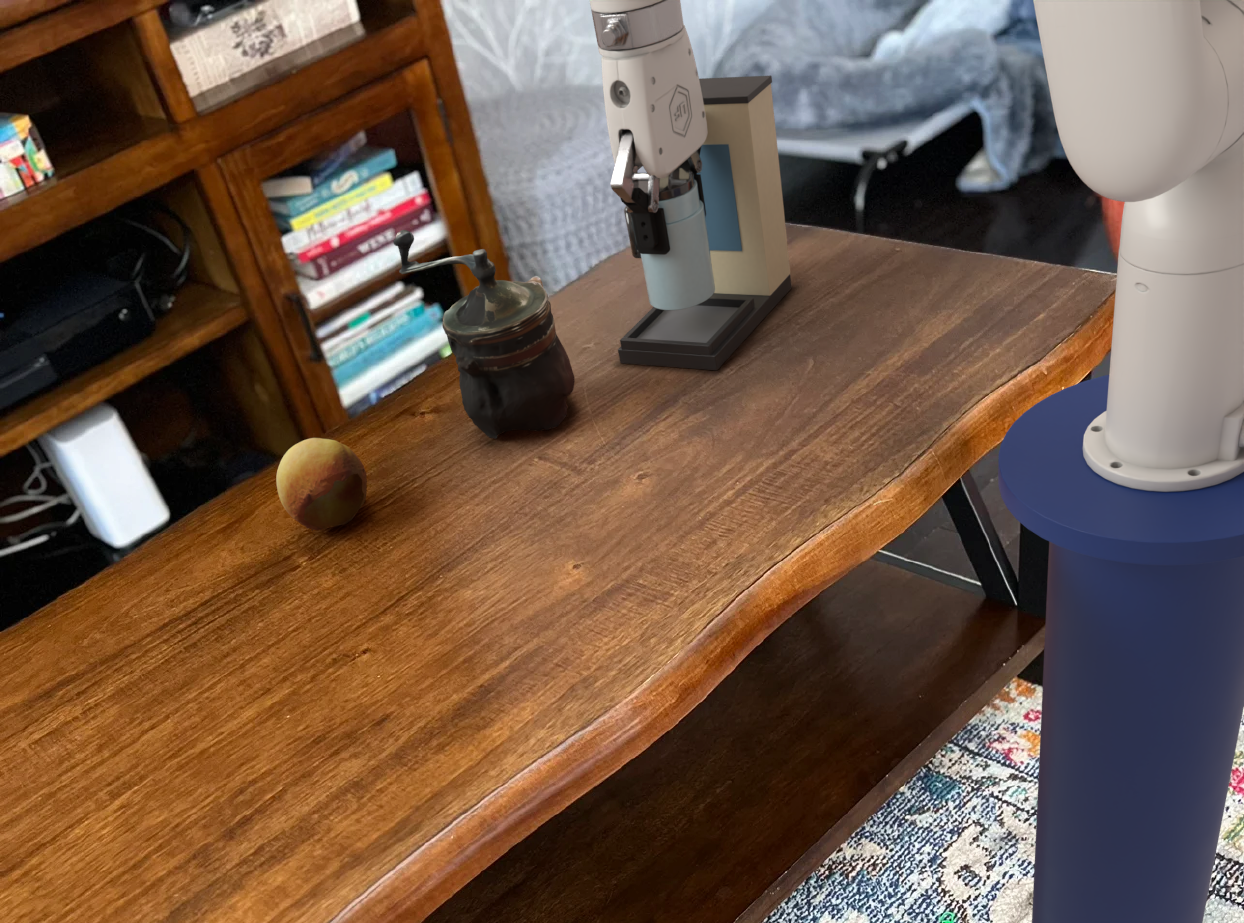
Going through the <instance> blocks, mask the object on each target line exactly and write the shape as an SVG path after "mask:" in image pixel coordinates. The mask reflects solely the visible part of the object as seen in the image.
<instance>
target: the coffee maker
mask: <svg viewBox="0 0 1244 923" xmlns="http://www.w3.org/2000/svg"><path fill="white" fill-rule="evenodd" d="M772 76H773V75H751V76H749V75H748V76H727V77H709V78H708V77H705V78H702V77H701V78H699V81H700V86H701V92H702V97H703V103H704V109H705V115H706V121H707V131H708V134H707V138H706V140H705V142H704V143H703V145H702V146H701V151H700V159H701V161H702V170H701V172H700V173H697V174H701V181H702V188H703V195H704V202H705V209H706V217H705V218H706V225H707V232H708V239H709V246H710V253H711V260H712V267H713V274H714V281H715V292H714V294H713V295H712V296H711V297H710V298H709V299H707V300H706V301H704V302H702V303H700V304H698V305H695V306H692V307H689V308H685V309H679V310H661V309H657V308H655V307H653V306H652V308H651V309H650V310H649V311H648V312H647V313H645V314H644V316H643V317H642V318H640V320H639V321H637V322H636V323H635V324H634V326H633V327H631V328H630V329H629V330H628V332H626V333H625V334H624V335H623V336H622V337H621V338H620V339H619V343H620V346H619V347H618V348H617V353H618V358H619V362H620V364H627V365H639V366H655V367H665V368H666V367H667V368H677V369H678V368H679V369H691V370H706V371H718V370H719V369H720V368H721V367H722V366H723V365H724V364H725V362H726V361H727V360H729V359H730V357H731V356H732V355H733V353H734V352H735V351H736V350H737V349H738V348H739V347H740V346H741V345H742V344H743V343H744V341H745V340H746V339H747V338H748V337H749V336H750V335H751V334H752V333H753V332H754V330H755V329H756V328H757V327H758V326H759V325H760V323H762V321H763V320H765V318H766V317H767V316H768V315H769V313H771V311H773V309H775V307H776V306H777V305H778V303H780V301H782V299H783V298H785V296H786V295H787V294H788V293H789V291H790V290H791V289H792V287H793V286H792V276H791V266H790V254H789V246H788V236H787V226H786V217H785V207H784V198H783V187H782V178H781V167H780V159H779V158H780V157H779V149H778V138H777V130H776V120H775V111H774V110H775V108H774V100H773V90H772V83H773V77H772Z"/></svg>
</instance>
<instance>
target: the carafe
mask: <svg viewBox="0 0 1244 923" xmlns="http://www.w3.org/2000/svg"><path fill="white" fill-rule="evenodd" d="M638 188H641V189H642V190H643V191H644V192H645V193H646V194H647V195H648V181H639V185H638ZM658 208H664V214H665V221H666V227H667V233H668V239H669V245H670V251H669V252H668V253H667V254H665V255H660V254H641V253H639V251H638V248H637V242H636V237H635V231H634V226H633V220H632V215H631V213H629V212H628V211H627V208H626V206H625V207H624V208H623V214H624V218H625V223H626V230H627V234H628V239H629V245H630V250H631V255H632V257H633V258H634V259H641V265H642V270H643V275H644V281H645V286H646V293H647V297H648V303H649V305H651V307H652V308H653V307H655V308H657V309H661V310H679V309H685V308H689V307H692V306H695V305H698V304H700V303H702V302H704V301H706V300H707V299H709V298H710V297H711V296H712V295H713V294H714V292H715V281H714V274H713V267H712V260H711V253H710V246H709V239H708V232H707V225H706V218H705V212H704V205H703V203H702V201H701V200H699V193H698V186H697V182H696V180H695V179H694V174H693V172H692V171H690V170H688V169H684V168H677V169H676V170H674V171H673V172H672V173H671V174H670V175H668V176H667V177H665V178H660V185H659V207H658Z"/></svg>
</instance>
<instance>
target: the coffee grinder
mask: <svg viewBox="0 0 1244 923" xmlns="http://www.w3.org/2000/svg"><path fill="white" fill-rule="evenodd" d="M414 241H415V235H414V234H413V233H412V232H411V231H409V230H407V229H402V230H401V229H400V231H399V232H397V233H396V235H395V238H394V240H393V242H392V243H393V245H394V246H395V247H397V249H398V252H399V255H400V262H401V267H400V269H399V271H398V272H399V273H400V274H401V275H406V274H407V275H408V274H409V273H414V272H421V271H426V270H429V269H433V268H436V267H440V266H446V265H465V266H467V267H468V269H469V270H470V271H471V273H472V275H473V276H474V277H475V278H476V279H477V281H478V283H479V285H478V286H475V287H474V288H473V289H472V290H470V291H469V292H468V294H467V295H465V296H464V297H462V298H460V299H459V300H457V301H456V302H455V303H454V304H452V305H451V307H450V308H448V310H446V311H444V313H443V316H442V324H441V325H442V330H443V331H444V334H445V335H446V337H447V342H448V345H449V348H450V351H451V352H452V354H453V355H454V357H455V363H456V365H457V372H459V380H458V381H459V382H458V383H459V389H460V390H459V391H460V395H461V402H462V405H463V410H464V411H465V413H466V414H467V416H468V418H469V419H471V422H472V424H473V425H475V426H476V427H477V428H478V429H479V430H480V431H481V432H483V434H484V435H485V436H486V437H488V438H489V439H498V436H499V435H502V434H503V433H505V432H511V431H516V430H517V431H533V432H542V431H545V430H546V431H547V430H548V431H549V430H550V429H551V430H552V429H555V428H558V427H559V426H560V424H561V423H562V422H563V421H564V420H565V418H566V417H567V416H568V408H569V406H568V405H567V399H568V397H569V396H570V395H571V394H572V393H573V391H574V389H575V382H576V381H575V374H574V371H573V368H572V365H571V361H570V357H569V355H568V353H567V351H566V349H565V346H564V345H563V344H562V342H561V340H560V338H559V336H558V334H557V331H556V325H555V324H556V323H555V319H554V315H553V313H552V304H551V301H550V300H549V295H548V293H547V290H546V289H545V288H544V285H543V281H542V279H541V278H540V276H537V275H534V276H532V277H531V278H530V279H529V280H527V281H525V282H524V281H519V280H515V281H510V280H505V279H501V280H500V279H499V280H497V279H495V276H496V271H497V270H496V269H497V268H496V266H495V263H494V262H492V261H490V259H489V258H488V252H487V250H486V249H484V248H482V249H481V248H480V249H477V250H474V251H473V252H472V254H464V255H461V256H452V257H451V256H450V257H445V258H441V259H437V260H434V261H429V262H427V261H426V262H422V263H419V262H418V261H416V260H413V261H409V260H408V259H409V254H410V249H411V247H412V245H413V244H414Z"/></svg>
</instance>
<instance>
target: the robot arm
mask: <svg viewBox="0 0 1244 923" xmlns="http://www.w3.org/2000/svg"><path fill="white" fill-rule="evenodd" d="M1032 1H1033V2H1032V3H1033V6H1034V13H1035V18H1036V23H1037V29H1038V34H1039V39H1040V45H1041V51H1042V57H1043V62H1044V68H1045V73H1046V78H1047V83H1048V90H1049V95H1050V99H1051V106H1052V110H1053V115H1054V119H1055V124H1056V128H1057V132H1058V137H1059V140H1060V143H1061V146H1062V147H1063V151H1064V153H1065V156H1066V158H1067V160H1068V162H1069V164H1070V166H1071V167H1072V169H1073V171H1074V173H1075V174H1076V175H1077V176H1078V177H1079V179H1080V180H1081V181H1082V182H1083V184H1084V185H1086V186H1087V187H1088V188H1089V189H1090V190H1092V191H1093V192H1095V193H1096V194H1098V195H1099V196H1102V197H1103V198H1106V199H1108V200H1111V201H1115V202H1122V203H1124V204H1123V210H1122V216H1121V226H1120V236H1119V247H1118V254H1117V255H1118V256H1117V269H1116V281H1115V285H1116V286H1115V295H1114V296H1115V298H1114V308H1113V322H1112V334H1111V335H1112V336H1111V348H1110V359H1109V360H1110V362H1109V374H1108V375H1109V386H1108V399H1107V411H1105V412H1103V413H1102V414H1101V415H1099V416H1098V417H1097V418H1095V419H1094V420H1093V421H1092V423H1091V424H1090V425H1089V426H1088V427H1087V429H1086V432H1085V434H1084V439H1083V456H1084V458H1085V460H1086V462H1087V464H1088V465H1089V467H1090V468H1091V469H1092V470H1093V471H1094V472H1096V473H1097V474H1099V475H1100V476H1102V477H1103V478H1105V479H1107V480H1109V481H1111V482H1113V483H1116V484H1118V485H1122V486H1125V487H1129V488H1132V489H1138V490H1145V491H1155V492H1180V491H1189V490H1196V489H1202V488H1206V487H1210V486H1214V485H1217V484H1220V483H1222V482H1225V481H1227V480H1230V479H1232V478H1234V477H1235V476H1237V475H1239V474H1241V473H1242V472H1244V0H1032ZM589 5H590V9H591V10H590V12H591V16H592V21H593V22H592V23H593V27H594V32H595V37H596V43H597V49H598V53H599V55H601V58H600V60H601V77H602V78H601V79H602V89H603V101H604V102H603V103H604V109H605V118H606V124H607V132H608V137H609V138H608V139H609V144H610V150H611V154H612V159H613V163H614V167H613V171H612V176H611V180H610V189H611V190H612V191H613V192H614V193H615V194H616V195H617V196H618V198H620V201H621V202H622V204H623V205H625V207H626V208H627V211H628V212H629V213H631V215H632V220H633V226H634V231H635V237H636V242H637V248H638V251H639V253H641V254H660V255H665V254H667V253H668V252H669V251H670V245H669V239H668V233H667V227H666V221H665V214H664V208H658V207H659V185H660V178H665V177H667V176H668V175H670V174H671V173H672V172H673V171H674V170H676V169H677V168H684V169H688V170H690V171H692V172H693V174H694V179H695V180H696V182H697V186H698V193H699V200H701V201H702V203H703V205H704V212H705V217H706V209H705V202H704V195H703V188H702V181H701V174H697V173H700V172H701V170H702V161H701V159H700V151H701V146H702V145H703V143H704V142H705V140H706V138H707V134H708V131H707V121H706V115H705V109H704V103H703V97H702V92H701V86H700V81H699V79H700V76H699V72H698V68H697V63H696V58H695V55H694V54H695V53H694V51H693V47H692V43H691V41H690V36H689V33H688V31H687V28H686V24H684V17H683V10H682V3H681V0H589ZM641 168H643V169H644V170H645V172H638V171H640V169H641ZM639 181H648V195H647V194H646V193H645V192H644V191H643V190H642V189H641V188H638V185H639Z"/></svg>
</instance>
